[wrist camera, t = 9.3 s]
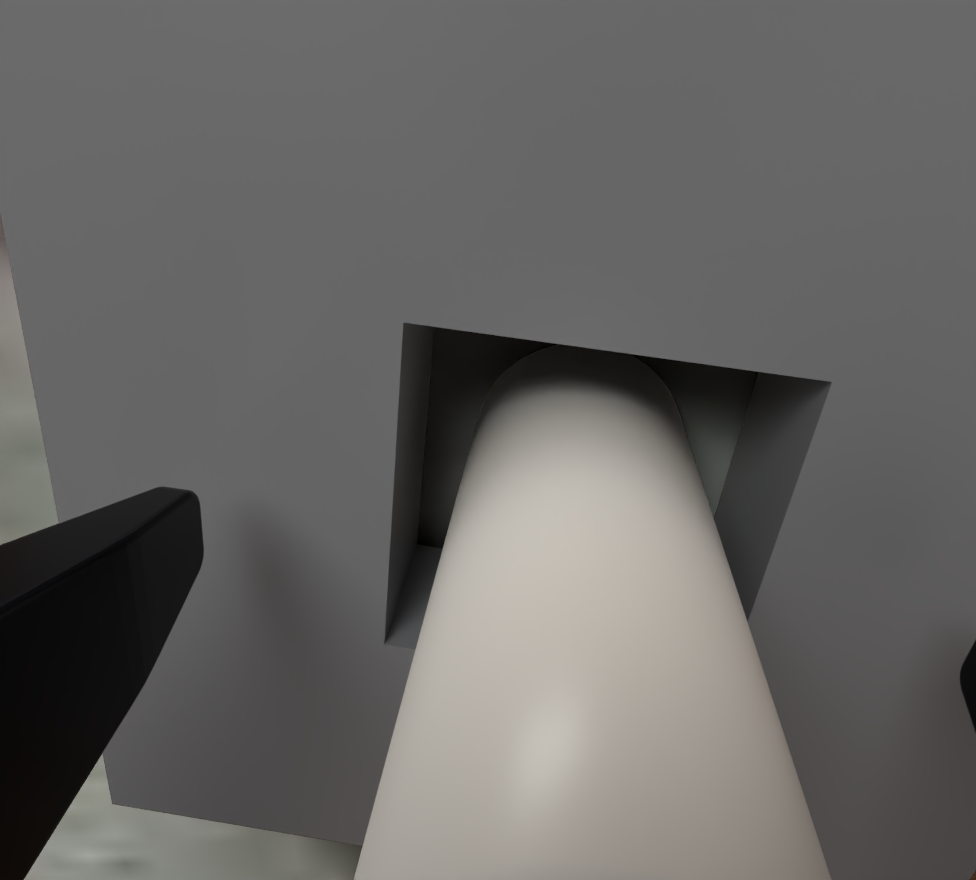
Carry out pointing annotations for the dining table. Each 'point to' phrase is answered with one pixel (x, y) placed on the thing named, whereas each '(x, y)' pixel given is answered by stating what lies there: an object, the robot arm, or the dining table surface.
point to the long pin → (586, 660)
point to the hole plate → (518, 314)
